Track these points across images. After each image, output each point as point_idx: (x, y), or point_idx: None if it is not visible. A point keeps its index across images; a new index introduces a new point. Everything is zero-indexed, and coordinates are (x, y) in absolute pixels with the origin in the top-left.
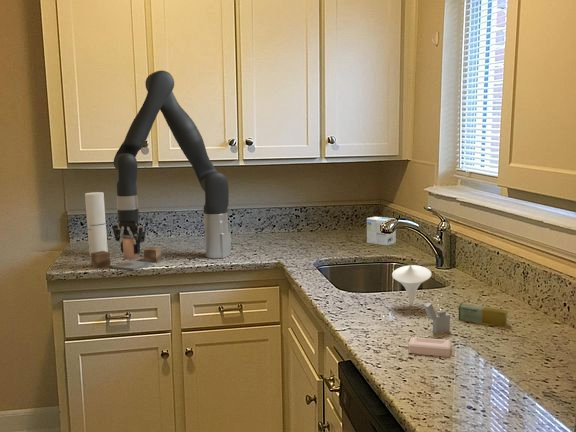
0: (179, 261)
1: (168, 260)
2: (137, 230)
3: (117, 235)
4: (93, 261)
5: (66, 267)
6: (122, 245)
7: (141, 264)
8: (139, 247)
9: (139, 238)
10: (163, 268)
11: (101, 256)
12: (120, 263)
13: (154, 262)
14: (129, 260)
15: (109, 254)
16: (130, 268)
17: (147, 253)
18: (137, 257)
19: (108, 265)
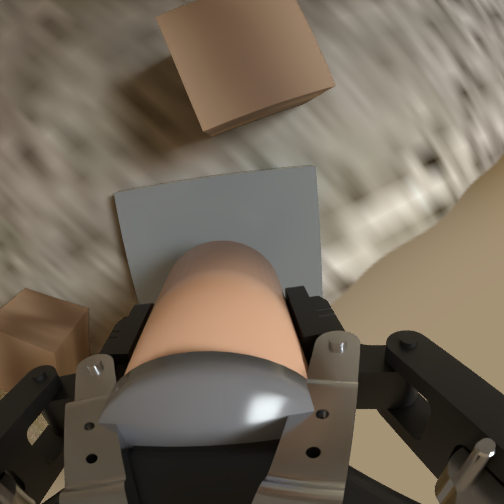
0: (411, 30)
1: (331, 23)
2: (347, 463)
3: (60, 460)
4: None
5: (3, 394)
6: None
7: (295, 246)
8: (336, 324)
9: (419, 425)
10: (440, 213)
11: None
12: (136, 291)
13: (290, 107)
14: (116, 199)
15: (60, 347)
16: None
17: (243, 119)
18: (278, 278)
19: (87, 320)
